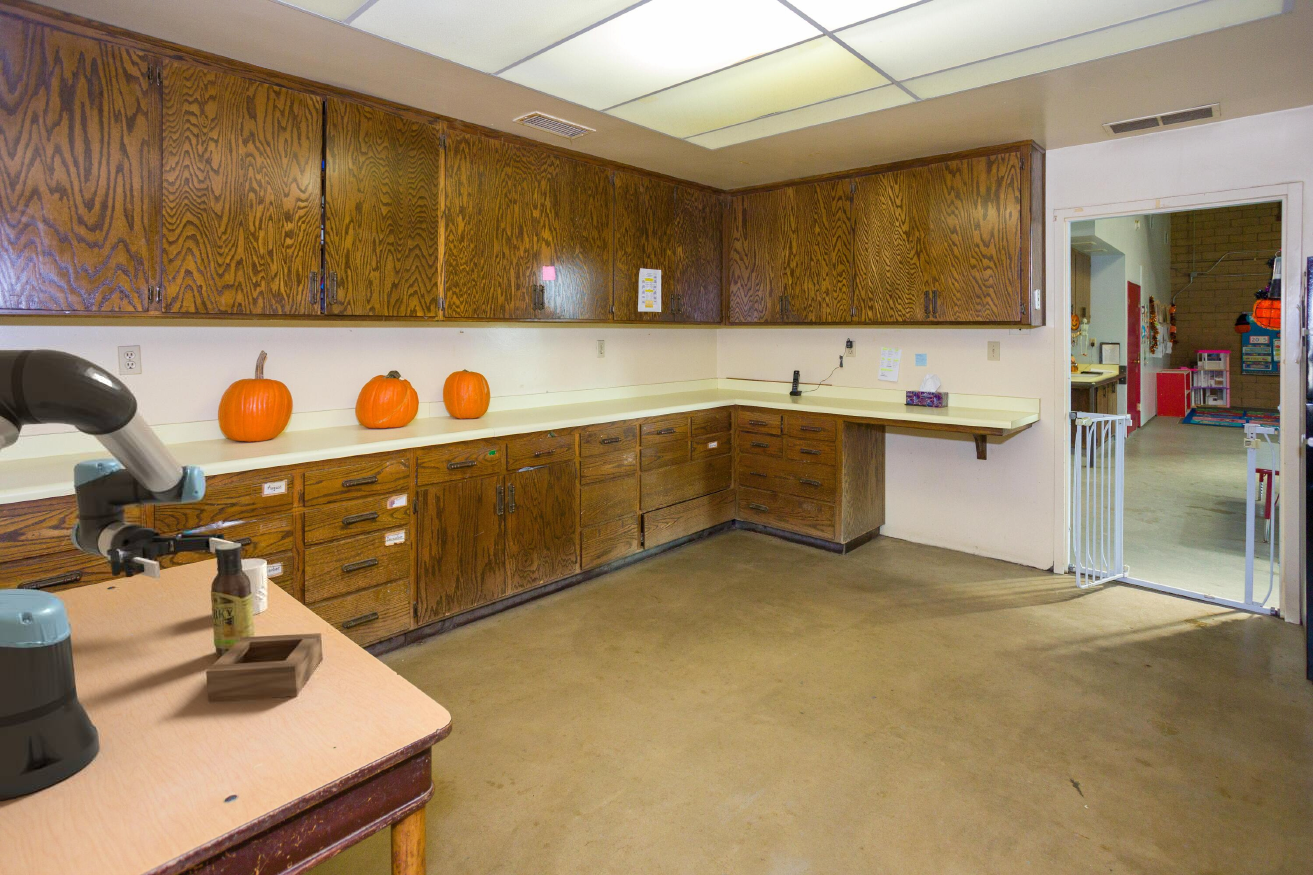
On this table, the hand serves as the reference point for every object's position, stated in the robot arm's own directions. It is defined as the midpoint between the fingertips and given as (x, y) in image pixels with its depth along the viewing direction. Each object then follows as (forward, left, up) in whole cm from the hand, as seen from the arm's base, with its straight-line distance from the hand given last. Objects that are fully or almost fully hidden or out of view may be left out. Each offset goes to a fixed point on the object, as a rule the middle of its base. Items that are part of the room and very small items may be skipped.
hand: (196, 559), depth 134 cm
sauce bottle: (-6, -8, -16) cm, 19 cm away
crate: (-18, -18, -16) cm, 30 cm away
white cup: (+15, -2, -16) cm, 22 cm away
